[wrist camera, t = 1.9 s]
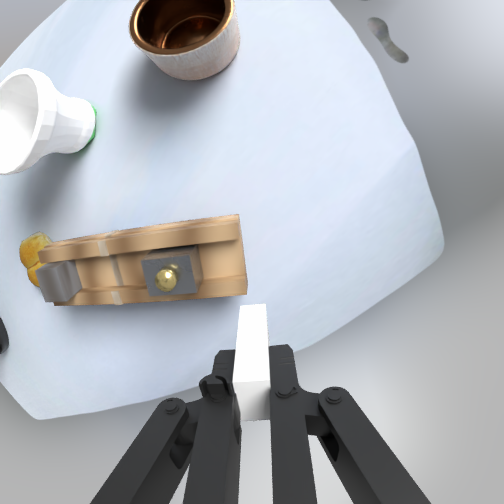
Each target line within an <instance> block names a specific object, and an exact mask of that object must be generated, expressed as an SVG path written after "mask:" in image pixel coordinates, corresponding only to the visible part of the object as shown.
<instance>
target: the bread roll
mask: <svg viewBox="0 0 504 504" xmlns="http://www.w3.org/2000/svg"><path fill="white" fill-rule="evenodd" d="M50 243H52V241H51V240H50V238H49V237H48V236H47V235H46V234H44V233H42V232H37V233H35V234H33V235H31V236H29V237H28V238H27V239H25V240H23V241H22V243H21V245H20V259H21V262H22V264H23V265H24V266H25V267H26V268H27V273H28V277H29V280H30V281H31V282H32V283H33V284H34V285H35V286H37V287H40V285H39V282H38V279H37V276H36V273H35V270H37V269H38V268H40V267H41V266H43V265H45V264H46V263H43V264H41V263H40V260H39V256H38V253H37V252H38V251H40V250H42V249H44V247H45V246H46V245H48V244H50Z"/></svg>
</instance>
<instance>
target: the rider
mask: <svg viewBox="0 0 504 504" xmlns="http://www.w3.org/2000/svg"><path fill="white" fill-rule="evenodd" d="M141 265H142V269H143V273H144V277H145V281H146V285H147V289H148V292H149V296H162V295H175V294H188V293H197V292H198V289H199V287H200V284H201V282H202V279H203V277H204V276H203V270H202V265H201V259H200V254H199V248H198V244H191V245H183V246H174V247H166V248H158V249H152V250H151V251H150V252H149V253H148V254H147V255H146V256H145V257H144V258H143V259H142V260H141Z"/></svg>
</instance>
